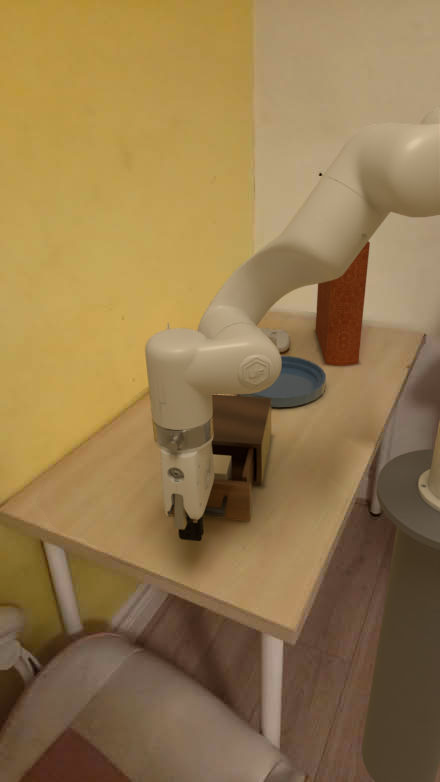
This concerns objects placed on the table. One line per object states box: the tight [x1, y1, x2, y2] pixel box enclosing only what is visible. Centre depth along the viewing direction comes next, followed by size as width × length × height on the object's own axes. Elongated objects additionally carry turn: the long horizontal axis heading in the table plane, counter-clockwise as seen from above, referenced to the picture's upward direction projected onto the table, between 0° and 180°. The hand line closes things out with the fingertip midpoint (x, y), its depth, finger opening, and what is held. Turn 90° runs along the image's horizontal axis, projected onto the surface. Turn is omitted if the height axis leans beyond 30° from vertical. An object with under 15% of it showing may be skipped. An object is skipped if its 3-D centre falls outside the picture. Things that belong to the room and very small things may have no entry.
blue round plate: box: [237, 355, 327, 408], centre depth 126 cm, size 21×21×3 cm
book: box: [315, 240, 371, 367], centre depth 137 cm, size 23×8×30 cm, turn 178°
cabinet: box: [211, 394, 272, 487], centre depth 101 cm, size 16×15×9 cm
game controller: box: [258, 327, 291, 353], centre depth 145 cm, size 14×4×10 cm
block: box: [213, 454, 232, 481], centre depth 90 cm, size 5×5×5 cm
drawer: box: [172, 445, 257, 522], centre depth 89 cm, size 19×14×7 cm
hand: (191, 536), depth 76 cm, fingers closed
